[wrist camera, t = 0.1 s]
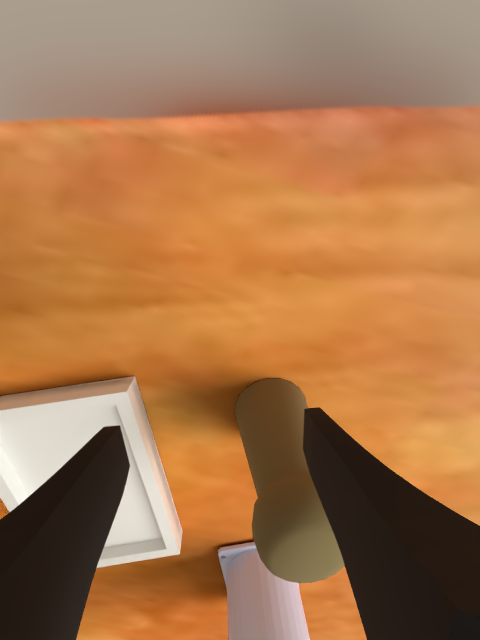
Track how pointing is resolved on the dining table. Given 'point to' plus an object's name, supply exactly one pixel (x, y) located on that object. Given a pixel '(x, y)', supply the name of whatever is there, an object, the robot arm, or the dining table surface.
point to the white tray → (69, 437)
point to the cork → (284, 485)
